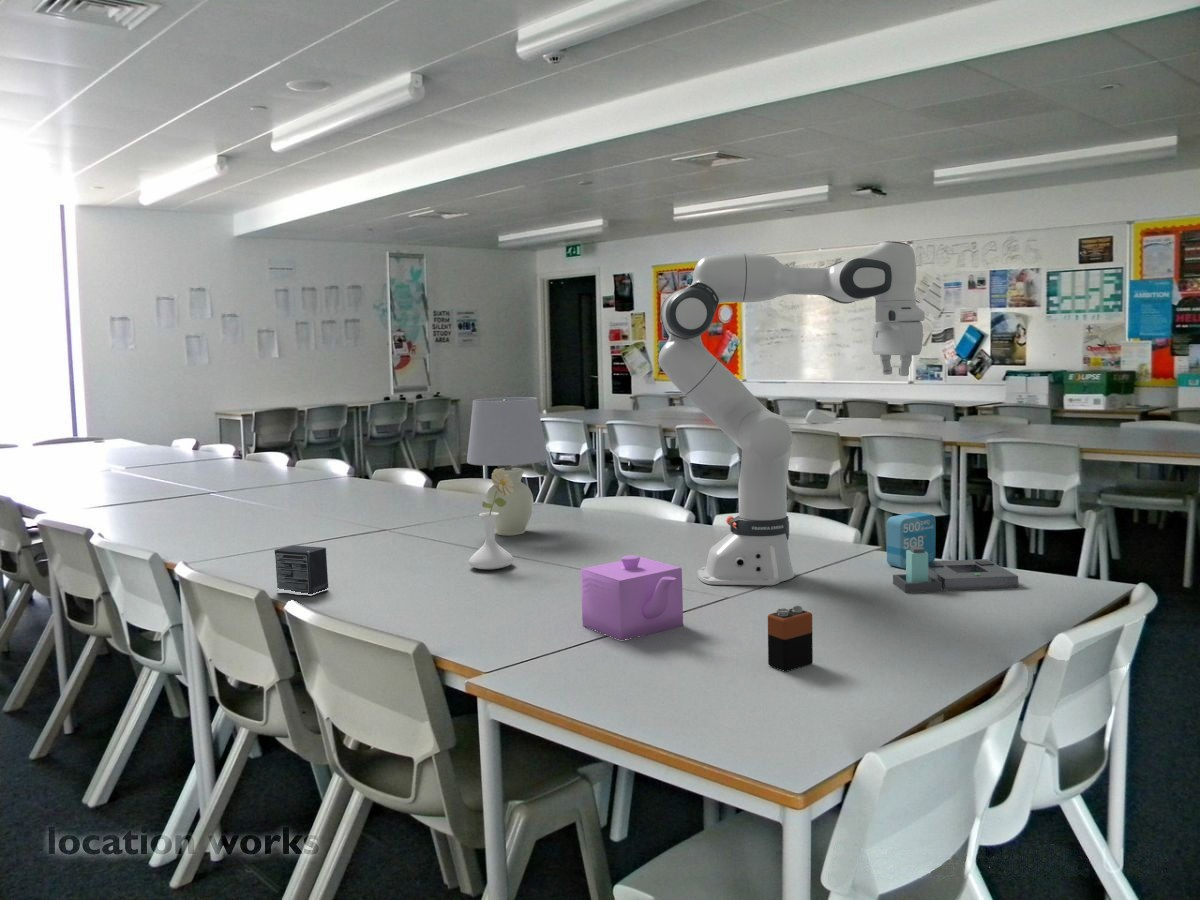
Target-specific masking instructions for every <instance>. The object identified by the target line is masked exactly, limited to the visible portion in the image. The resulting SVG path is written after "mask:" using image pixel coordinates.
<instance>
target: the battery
mask: <svg viewBox="0 0 1200 900" xmlns="http://www.w3.org/2000/svg"><path fill="white" fill-rule="evenodd" d="M813 644H814V643H813V613H812V612H810V611H807V610H803V607H802V606H799V605H795V606H794V605H793V607H792V608H785V607H784V608H783V607H782V608H777V609H776V612H772V613H769V614H768V615H767V658H768V659H767V662H768V663H767V664H768V666H769V665H770V666H769V667H771V666H772V668H774V667H775V668H774V669H777V668H778V669H777V670H779V669H781V670H780V671H782V670H784V671H783V672H785V671H786V672H788V671H787V670H790V671H792V670H791V669H793V670H795V669H794V668H796V669H799V668H798V667H800V668H802V666H803V667H805V665H806V666H809V664H810V665H812V664H813V662H814V661H813V660H814V659H813V658H814V655H813V654H814V651H813V647H814V646H813Z"/></svg>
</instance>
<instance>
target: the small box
mask: <svg viewBox="0 0 1200 900" xmlns="http://www.w3.org/2000/svg"><path fill="white" fill-rule="evenodd" d="M274 557H275V572H276V573H275V574H276V583H277V585H276V587H277V588H279V589H284V590H291V591H295V592H301V593H308V594H313V593H316V592H319V591H322V590H325V589H327V588H329V577H328V561H327V559H328V558H327V547H321V546H308V545H307V546H305V545H293V544H292V545H289V546H286V547H282V548H277V549H274Z"/></svg>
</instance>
